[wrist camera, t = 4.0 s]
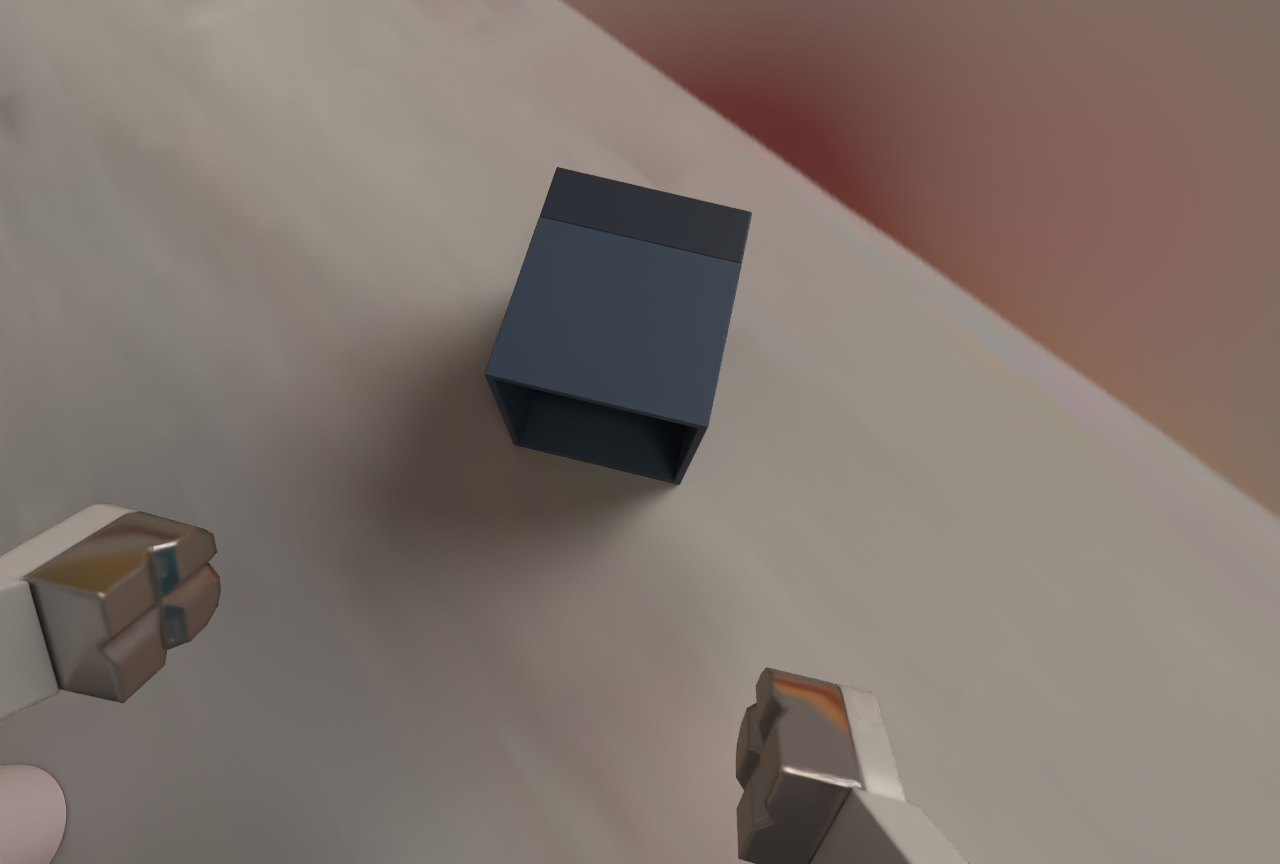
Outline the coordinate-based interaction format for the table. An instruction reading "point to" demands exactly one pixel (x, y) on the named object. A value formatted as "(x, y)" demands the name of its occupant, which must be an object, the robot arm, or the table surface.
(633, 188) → the bin
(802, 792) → the robot arm
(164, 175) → the table surface
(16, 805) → the smoothie
